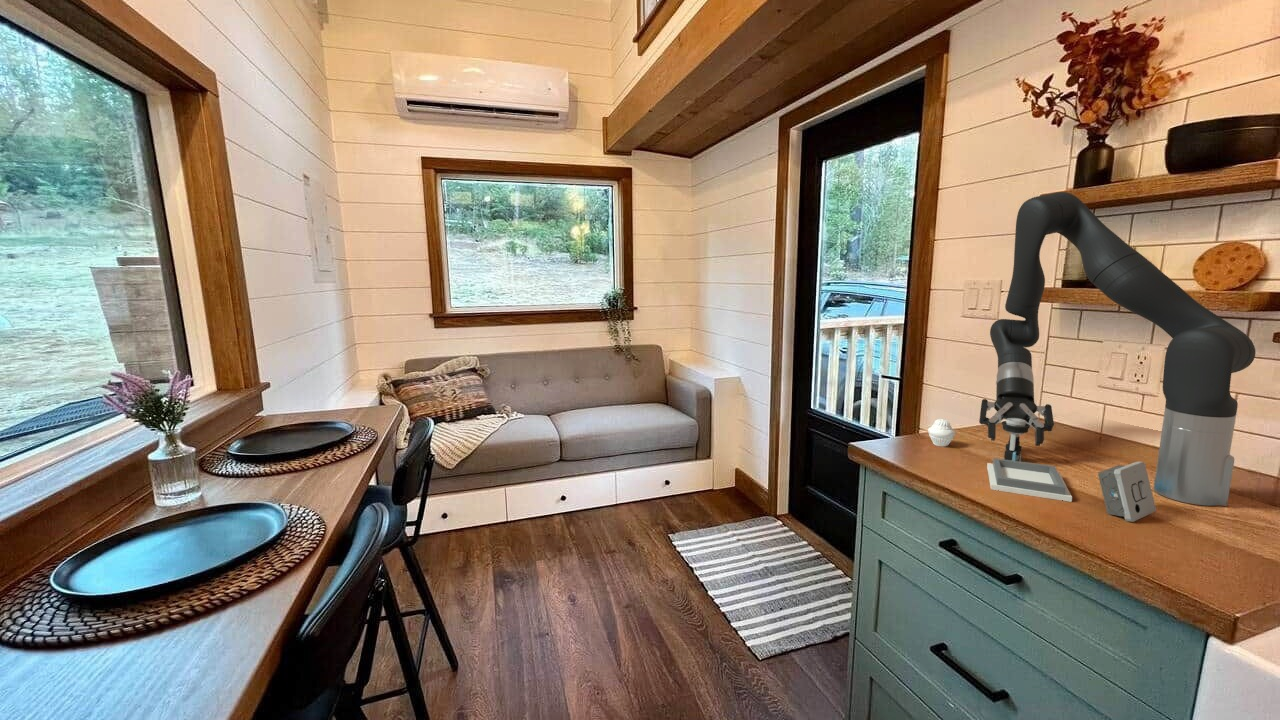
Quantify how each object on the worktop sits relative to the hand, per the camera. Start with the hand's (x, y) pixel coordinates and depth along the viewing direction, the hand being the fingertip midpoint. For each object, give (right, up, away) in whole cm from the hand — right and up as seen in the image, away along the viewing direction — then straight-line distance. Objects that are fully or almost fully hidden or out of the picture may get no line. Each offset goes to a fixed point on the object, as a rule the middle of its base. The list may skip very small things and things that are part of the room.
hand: (1015, 441), depth 120 cm
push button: (+1, -5, +2) cm, 5 cm away
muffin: (-9, -3, +14) cm, 17 cm away
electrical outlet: (+2, -9, -25) cm, 27 cm away
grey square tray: (-6, -7, -11) cm, 15 cm away
